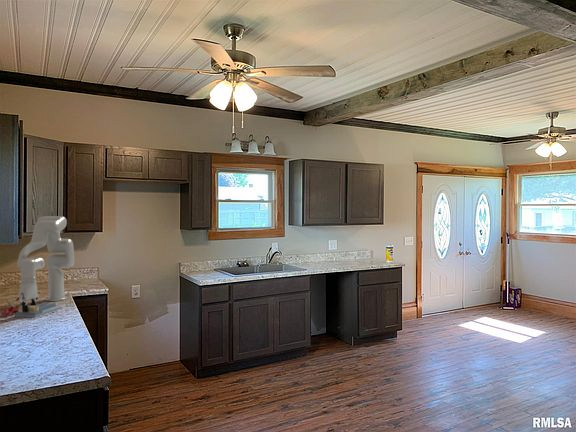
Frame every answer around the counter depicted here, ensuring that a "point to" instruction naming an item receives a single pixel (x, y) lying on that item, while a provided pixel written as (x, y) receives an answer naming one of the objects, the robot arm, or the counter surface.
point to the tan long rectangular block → (30, 308)
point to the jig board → (42, 310)
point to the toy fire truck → (10, 311)
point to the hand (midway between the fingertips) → (29, 310)
